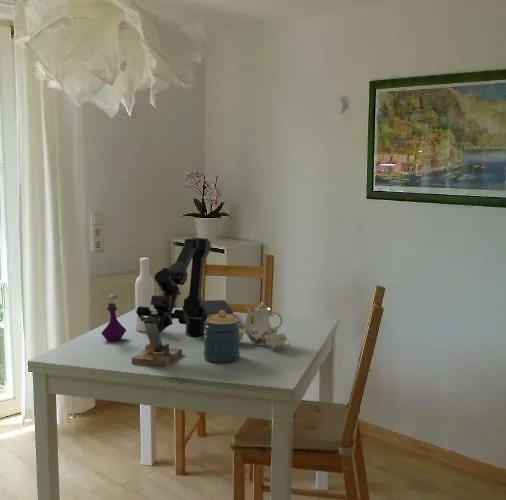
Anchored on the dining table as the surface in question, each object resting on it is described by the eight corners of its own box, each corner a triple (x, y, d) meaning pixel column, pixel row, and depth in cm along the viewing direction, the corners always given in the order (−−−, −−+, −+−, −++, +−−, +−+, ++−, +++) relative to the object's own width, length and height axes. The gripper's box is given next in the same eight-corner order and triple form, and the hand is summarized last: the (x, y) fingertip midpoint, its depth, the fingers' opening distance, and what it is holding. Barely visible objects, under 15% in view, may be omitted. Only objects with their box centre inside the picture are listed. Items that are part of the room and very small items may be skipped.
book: (224, 314, 307) (224, 300, 306) (233, 327, 282) (233, 312, 281) (187, 315, 303) (187, 300, 303) (192, 328, 279) (192, 313, 278)
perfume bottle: (119, 342, 255) (118, 297, 252) (101, 341, 256) (100, 296, 254) (126, 337, 262) (126, 293, 260) (109, 336, 264) (108, 292, 261)
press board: (152, 351, 245) (152, 332, 244) (182, 354, 241) (182, 335, 240) (131, 363, 229) (131, 343, 228) (163, 367, 226) (163, 346, 225)
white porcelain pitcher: (236, 331, 274) (236, 307, 273) (243, 326, 282) (244, 303, 281) (254, 333, 271) (254, 309, 270) (261, 329, 279) (262, 305, 278)
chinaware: (217, 349, 254) (215, 308, 250) (233, 334, 269) (232, 295, 265) (286, 358, 244) (285, 315, 240) (299, 342, 259) (299, 302, 255)
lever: (152, 347, 237) (142, 314, 228) (166, 349, 236) (156, 315, 226) (150, 351, 236) (140, 318, 226) (164, 353, 234) (153, 319, 225)
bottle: (137, 332, 270) (136, 260, 266) (133, 327, 278) (133, 257, 274) (156, 331, 273) (156, 259, 269) (152, 326, 280) (152, 256, 276)
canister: (226, 366, 228) (226, 316, 226) (196, 359, 235) (196, 311, 233) (246, 356, 239) (247, 309, 237) (217, 351, 246) (217, 304, 244)
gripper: (137, 284, 238) (123, 321, 229) (185, 288, 232) (172, 326, 224) (148, 301, 247) (134, 337, 238) (194, 305, 241) (182, 342, 232)
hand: (155, 335), depth 233 cm, fingers closed, pressing on lever
